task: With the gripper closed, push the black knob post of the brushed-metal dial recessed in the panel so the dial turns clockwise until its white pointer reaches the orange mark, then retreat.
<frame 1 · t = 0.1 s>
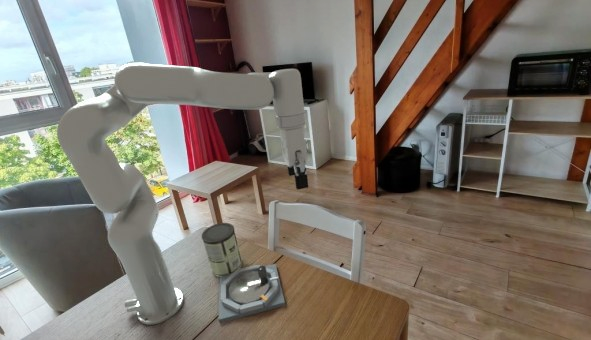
hand: (298, 181, 82), 31 cm above the table, fingers open, 9 cm apart
panel: (250, 291, 88), on the table
coffee can: (226, 267, 100), on the table
dial: (248, 280, 86), point 4 cm above the table, hinge at 0.0°
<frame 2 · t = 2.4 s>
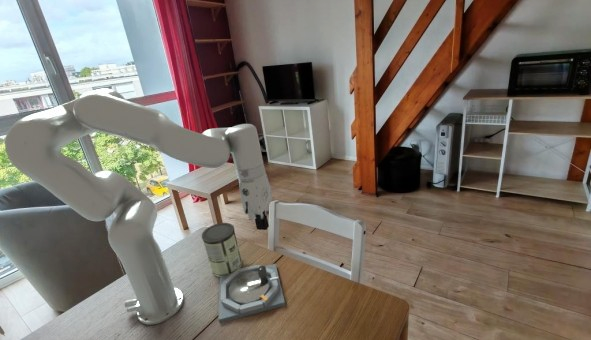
hand: (263, 228, 86), 18 cm above the table, fingers closed
nothing on the table moved.
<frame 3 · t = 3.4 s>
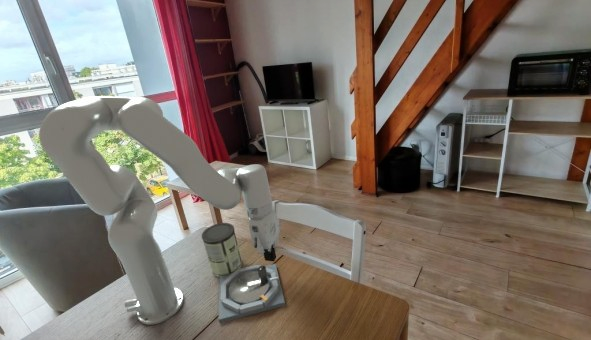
hand: (270, 259, 90), 6 cm above the table, fingers closed
nothing on the table moved.
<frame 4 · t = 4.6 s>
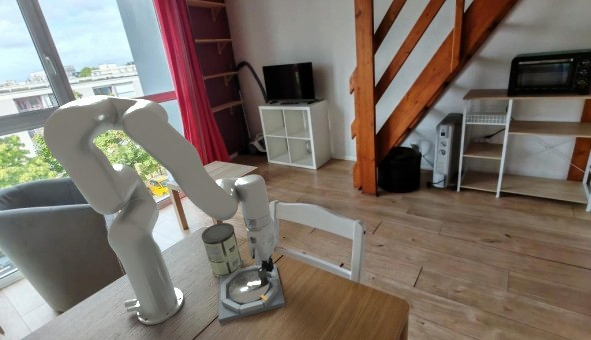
hand: (268, 269, 89), 4 cm above the table, fingers closed
dial: (248, 280, 86), point 4 cm above the table, hinge at -6.1°, touching gripper
everything else where it was.
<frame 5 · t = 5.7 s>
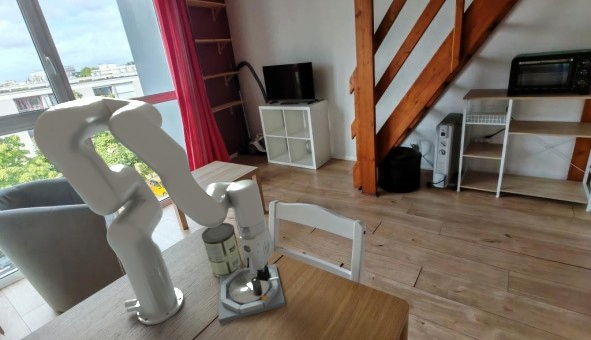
hand: (264, 278, 85), 5 cm above the table, fingers closed
dial: (248, 280, 86), point 4 cm above the table, hinge at -58.8°, touching gripper
everything else where it was.
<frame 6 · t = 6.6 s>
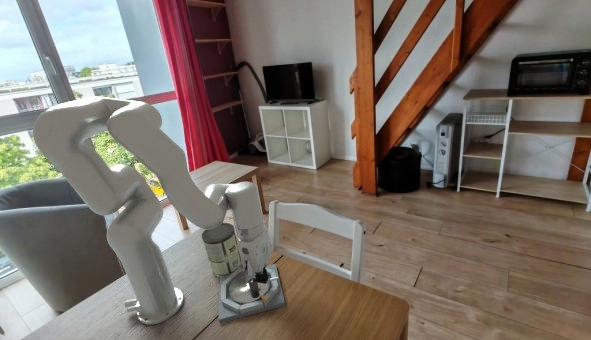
hand: (262, 281, 85), 5 cm above the table, fingers closed
dial: (248, 280, 86), point 4 cm above the table, hinge at -70.9°, touching gripper
everything else where it was.
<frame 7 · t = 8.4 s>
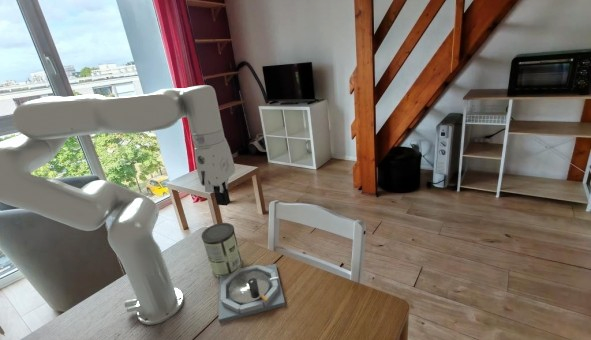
hand: (223, 203, 79), 29 cm above the table, fingers closed
dial: (248, 280, 86), point 4 cm above the table, hinge at -71.3°
everything else where it was.
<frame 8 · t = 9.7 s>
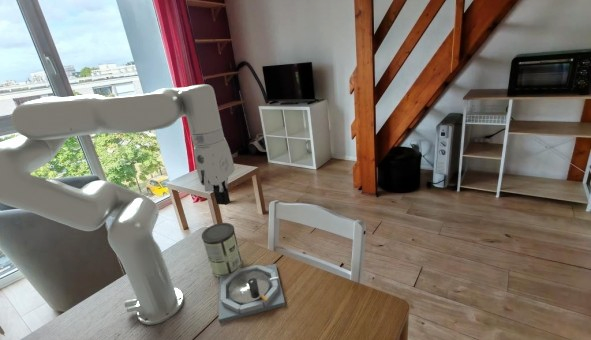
hand: (223, 202, 79), 29 cm above the table, fingers closed
nothing on the table moved.
at the end: dial at -71° (first picture: +0°); coffee can moved 0.0 cm from its start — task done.
